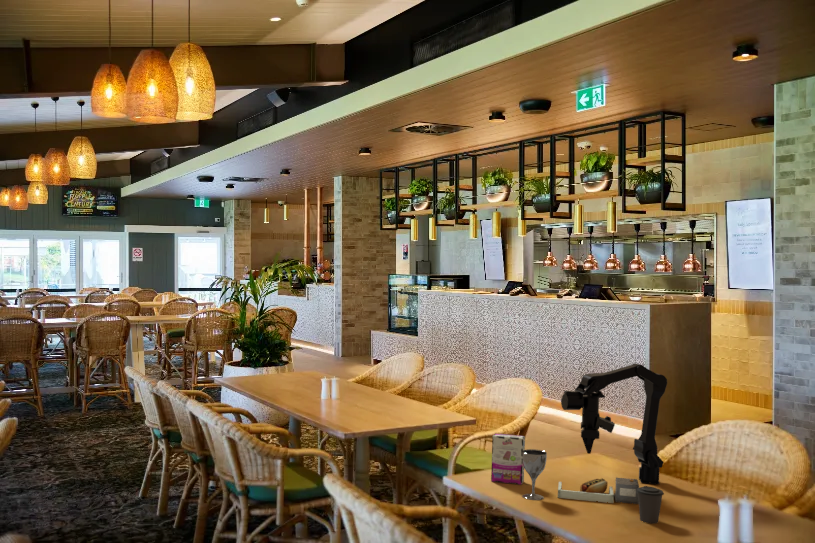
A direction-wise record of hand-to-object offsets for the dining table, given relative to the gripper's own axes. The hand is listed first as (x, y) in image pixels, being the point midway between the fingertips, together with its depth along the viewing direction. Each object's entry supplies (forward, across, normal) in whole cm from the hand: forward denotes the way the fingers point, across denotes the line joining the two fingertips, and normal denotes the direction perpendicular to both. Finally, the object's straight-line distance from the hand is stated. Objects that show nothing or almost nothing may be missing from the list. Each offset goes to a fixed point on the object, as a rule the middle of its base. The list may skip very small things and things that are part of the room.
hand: (588, 453), depth 278 cm
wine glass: (+11, -24, +18) cm, 32 cm away
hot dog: (+11, -15, -2) cm, 19 cm away
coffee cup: (+11, -37, -18) cm, 42 cm away
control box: (+11, -16, -12) cm, 23 cm away
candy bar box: (+11, -8, +28) cm, 31 cm away
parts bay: (+11, -16, +1) cm, 19 cm away
